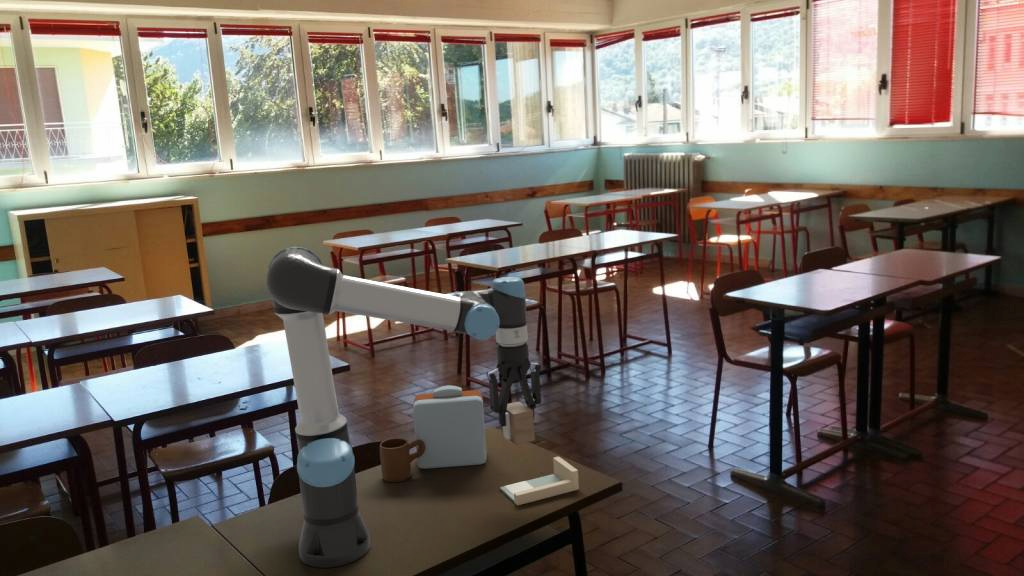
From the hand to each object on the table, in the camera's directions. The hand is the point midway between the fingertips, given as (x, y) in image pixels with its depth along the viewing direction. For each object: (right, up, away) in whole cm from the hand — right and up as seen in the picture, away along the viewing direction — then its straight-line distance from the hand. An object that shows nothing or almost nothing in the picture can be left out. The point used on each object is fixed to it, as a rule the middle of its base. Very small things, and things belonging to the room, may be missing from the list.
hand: (517, 435), depth 197 cm
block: (0, 0, 0) cm, 1 cm away
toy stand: (+5, -14, +3) cm, 15 cm away
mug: (-30, -14, +17) cm, 37 cm away
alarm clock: (-18, -12, +24) cm, 32 cm away
